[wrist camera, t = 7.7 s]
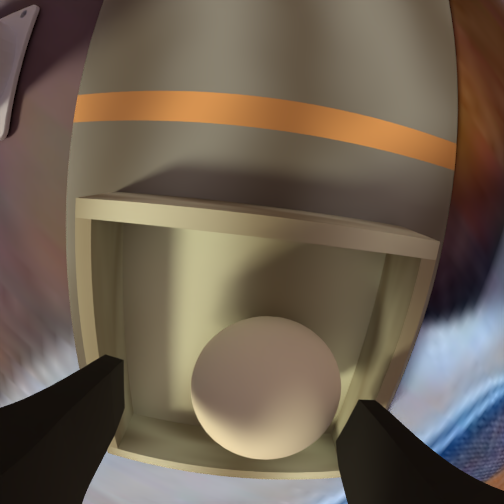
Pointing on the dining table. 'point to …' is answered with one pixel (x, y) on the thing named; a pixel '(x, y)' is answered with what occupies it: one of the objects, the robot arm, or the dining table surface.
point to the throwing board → (257, 199)
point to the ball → (265, 387)
